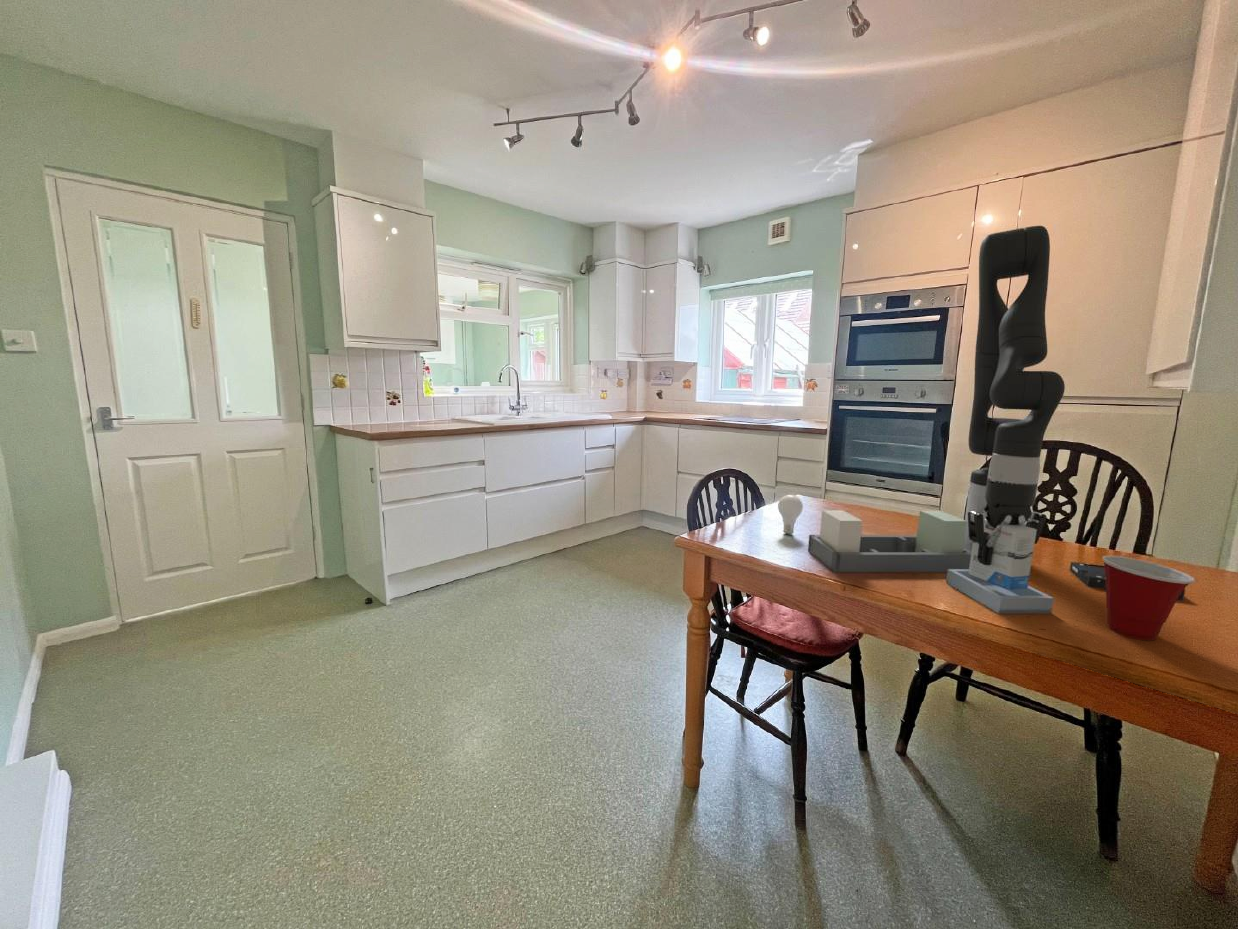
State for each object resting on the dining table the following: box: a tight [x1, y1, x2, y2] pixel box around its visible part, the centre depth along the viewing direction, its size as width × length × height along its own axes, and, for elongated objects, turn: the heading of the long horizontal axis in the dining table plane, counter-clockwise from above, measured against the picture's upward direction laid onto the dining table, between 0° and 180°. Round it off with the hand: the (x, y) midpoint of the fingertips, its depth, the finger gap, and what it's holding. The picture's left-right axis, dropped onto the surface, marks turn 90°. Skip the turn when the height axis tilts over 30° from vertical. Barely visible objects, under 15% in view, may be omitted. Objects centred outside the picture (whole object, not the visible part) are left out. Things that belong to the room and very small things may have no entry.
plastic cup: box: [1101, 555, 1195, 641], centre depth 84 cm, size 11×11×12 cm
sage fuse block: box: [915, 510, 967, 552], centre depth 117 cm, size 5×9×11 cm, turn 3°
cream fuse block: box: [819, 509, 863, 552], centre depth 116 cm, size 5×9×11 cm, turn 3°
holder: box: [807, 534, 971, 573], centre depth 117 cm, size 32×14×4 cm, turn 93°
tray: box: [945, 569, 1055, 615], centre depth 98 cm, size 10×14×3 cm
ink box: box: [968, 518, 1037, 590], centre depth 97 cm, size 8×5×12 cm, turn 13°
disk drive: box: [1069, 561, 1186, 601], centre depth 106 cm, size 10×3×15 cm
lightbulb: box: [777, 494, 804, 535], centre depth 136 cm, size 6×6×11 cm
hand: (999, 563), depth 97 cm, fingers closed on ink box, 5 cm apart
